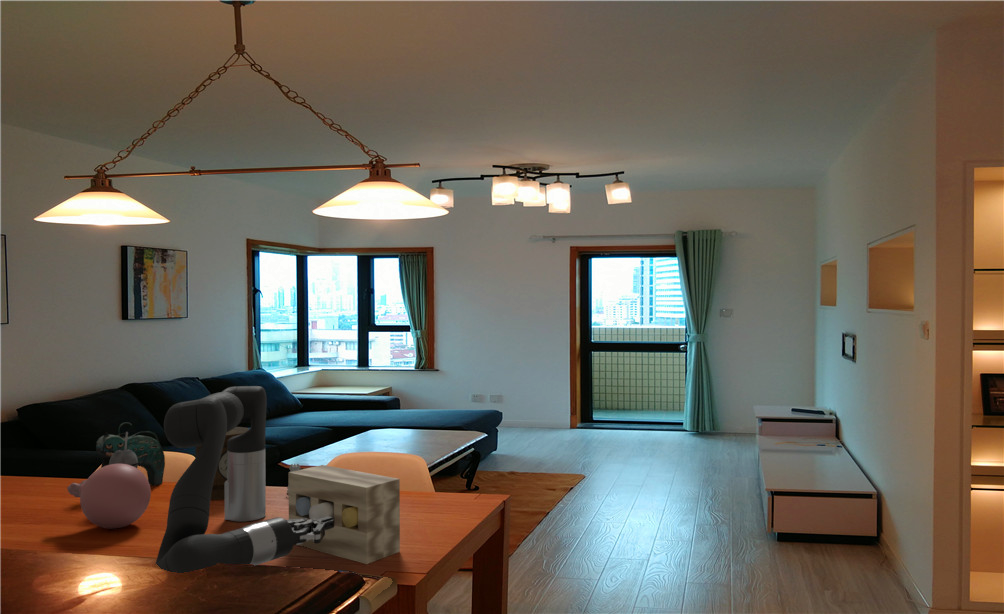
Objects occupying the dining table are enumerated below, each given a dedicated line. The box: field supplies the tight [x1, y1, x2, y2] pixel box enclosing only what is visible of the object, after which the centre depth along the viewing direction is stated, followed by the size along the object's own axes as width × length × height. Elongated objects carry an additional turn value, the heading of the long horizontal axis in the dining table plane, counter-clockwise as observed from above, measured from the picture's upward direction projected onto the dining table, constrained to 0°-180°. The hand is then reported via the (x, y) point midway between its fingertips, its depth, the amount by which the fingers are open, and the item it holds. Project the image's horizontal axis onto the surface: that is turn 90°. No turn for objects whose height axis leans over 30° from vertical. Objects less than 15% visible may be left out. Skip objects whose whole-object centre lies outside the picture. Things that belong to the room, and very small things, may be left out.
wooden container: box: [194, 426, 250, 501], centre depth 225 cm, size 15×15×22 cm
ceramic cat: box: [95, 421, 166, 487], centre depth 230 cm, size 20×6×20 cm, turn 147°
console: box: [288, 464, 401, 565], centre depth 176 cm, size 10×25×16 cm, turn 54°
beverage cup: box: [109, 431, 139, 469], centre depth 210 cm, size 7×7×20 cm
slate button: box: [296, 496, 311, 516], centre depth 178 cm, size 5×4×4 cm
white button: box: [309, 501, 334, 520], centre depth 171 cm, size 5×4×4 cm
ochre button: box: [342, 506, 358, 527], centre depth 169 cm, size 5×4×4 cm
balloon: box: [66, 464, 152, 530], centre depth 192 cm, size 15×20×15 cm
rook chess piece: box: [286, 463, 302, 494], centre depth 226 cm, size 4×4×8 cm
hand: (331, 521), depth 163 cm, fingers closed
